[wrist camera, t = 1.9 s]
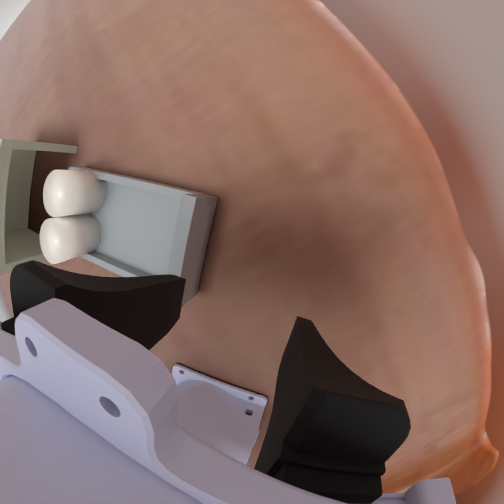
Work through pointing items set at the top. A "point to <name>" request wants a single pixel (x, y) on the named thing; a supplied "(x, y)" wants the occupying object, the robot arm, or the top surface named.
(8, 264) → the block
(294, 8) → the top surface
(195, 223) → the tray
